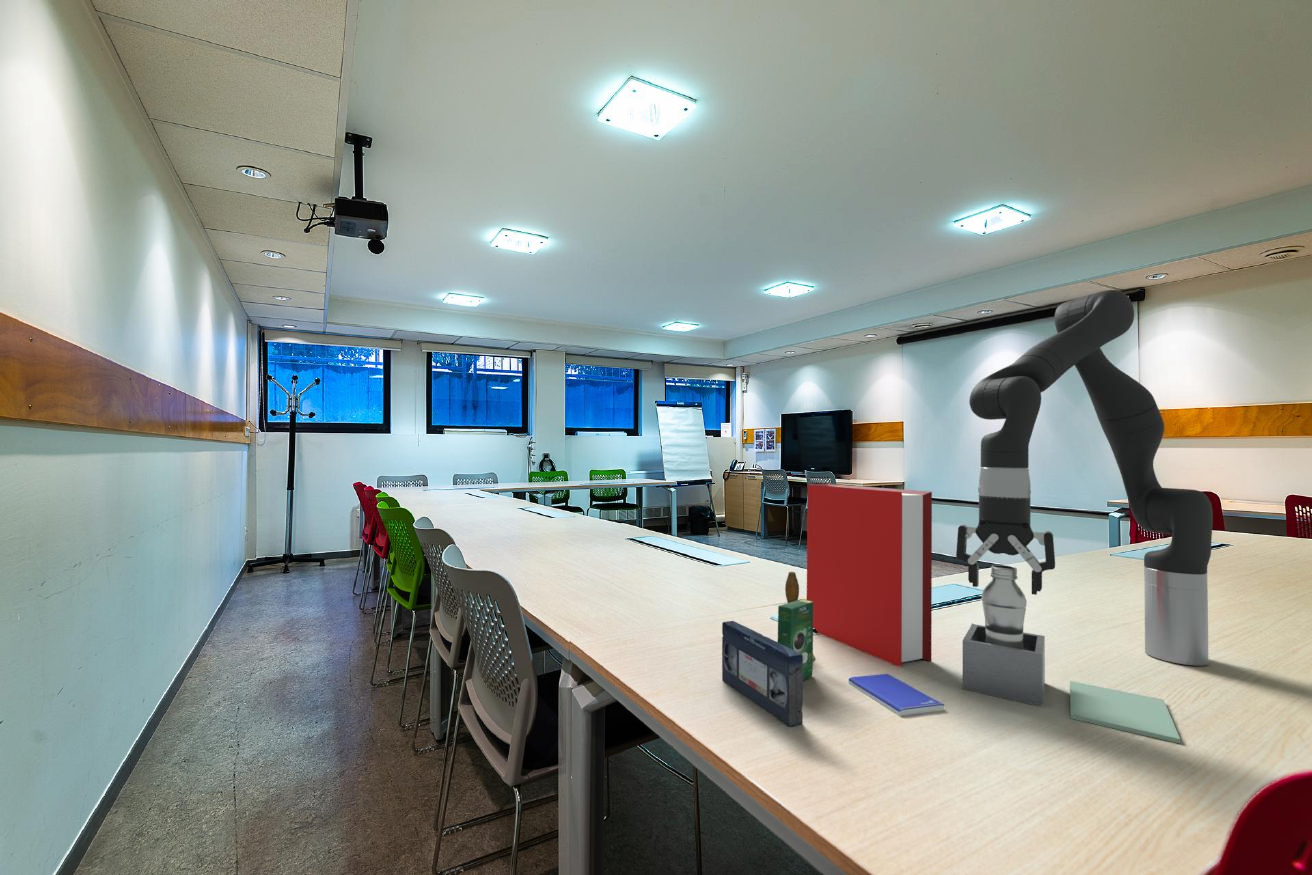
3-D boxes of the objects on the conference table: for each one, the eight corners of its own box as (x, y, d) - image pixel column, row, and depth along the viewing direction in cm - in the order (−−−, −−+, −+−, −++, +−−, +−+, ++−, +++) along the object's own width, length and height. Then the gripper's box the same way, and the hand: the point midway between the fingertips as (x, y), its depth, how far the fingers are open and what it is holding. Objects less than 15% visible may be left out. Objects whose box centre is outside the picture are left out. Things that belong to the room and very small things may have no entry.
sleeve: (972, 667, 104) (972, 623, 104) (1044, 682, 97) (1044, 635, 98) (962, 688, 94) (962, 640, 94) (1042, 707, 88) (1042, 654, 88)
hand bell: (798, 667, 102) (798, 578, 103) (761, 654, 109) (762, 571, 109) (823, 657, 108) (824, 573, 108) (787, 645, 114) (788, 566, 115)
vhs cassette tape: (720, 680, 96) (721, 621, 96) (735, 678, 97) (736, 619, 98) (786, 729, 79) (787, 657, 79) (803, 725, 80) (804, 654, 81)
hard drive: (944, 702, 86) (889, 672, 98) (899, 708, 84) (848, 676, 96) (944, 713, 86) (888, 682, 98) (899, 719, 84) (848, 686, 96)
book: (931, 661, 107) (931, 491, 108) (900, 667, 103) (901, 492, 104) (829, 622, 131) (830, 484, 133) (802, 625, 128) (803, 484, 129)
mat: (1069, 684, 97) (1069, 680, 97) (1163, 703, 90) (1163, 699, 90) (1070, 718, 84) (1070, 714, 84) (1180, 743, 77) (1180, 738, 77)
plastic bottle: (1035, 695, 92) (1035, 571, 93) (989, 691, 93) (989, 569, 94) (1018, 680, 98) (1018, 564, 99) (975, 676, 100) (975, 562, 100)
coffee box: (799, 671, 100) (800, 597, 101) (814, 676, 98) (814, 600, 99) (775, 684, 95) (776, 605, 95) (790, 689, 93) (791, 608, 93)
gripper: (1055, 495, 96) (1055, 592, 95) (960, 491, 104) (960, 580, 103) (1054, 497, 90) (1054, 601, 89) (954, 492, 98) (953, 587, 97)
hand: (1004, 589), depth 96 cm, fingers open, 8 cm apart
